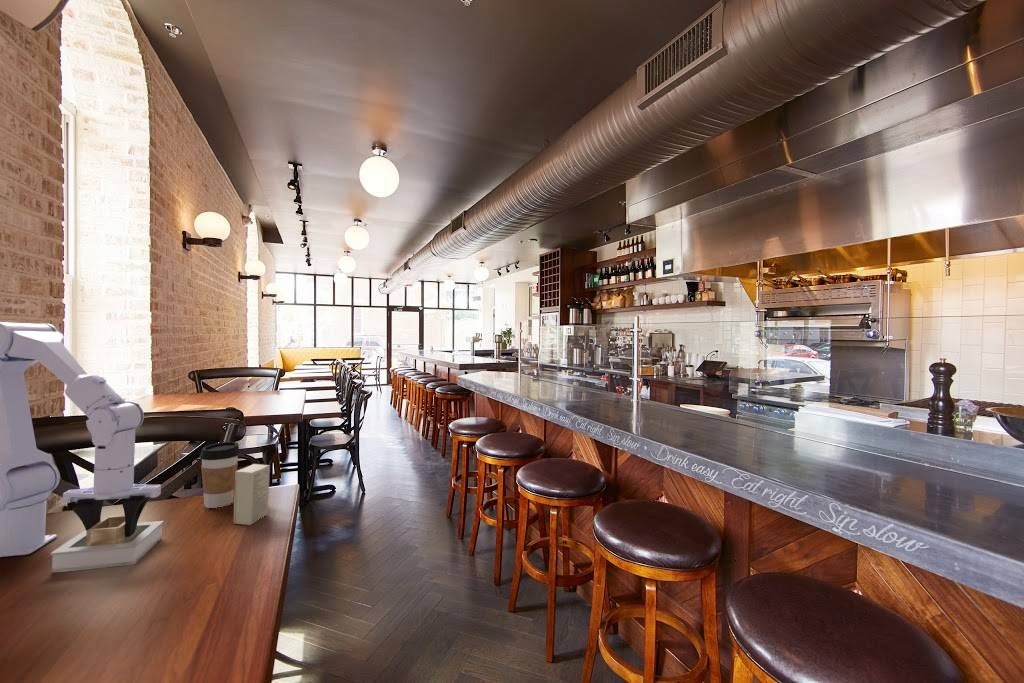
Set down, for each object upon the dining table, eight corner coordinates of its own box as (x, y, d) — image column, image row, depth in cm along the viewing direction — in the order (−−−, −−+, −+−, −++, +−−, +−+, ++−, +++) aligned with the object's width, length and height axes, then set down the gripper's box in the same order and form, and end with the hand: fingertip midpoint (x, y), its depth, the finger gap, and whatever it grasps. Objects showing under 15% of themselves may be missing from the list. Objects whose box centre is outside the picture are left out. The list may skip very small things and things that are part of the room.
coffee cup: (246, 501, 113) (248, 443, 113) (214, 513, 105) (216, 450, 105) (222, 496, 116) (224, 440, 116) (189, 507, 108) (191, 446, 108)
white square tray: (49, 573, 77) (50, 553, 77) (89, 544, 88) (90, 526, 88) (135, 564, 81) (136, 545, 81) (163, 537, 92) (163, 520, 92)
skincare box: (252, 513, 106) (254, 463, 106) (269, 515, 105) (270, 464, 105) (232, 524, 99) (234, 470, 99) (249, 526, 99) (251, 472, 99)
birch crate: (86, 554, 81) (86, 530, 81) (106, 539, 87) (106, 516, 87) (119, 551, 82) (119, 528, 82) (136, 536, 88) (137, 514, 88)
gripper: (52, 474, 78) (49, 550, 78) (150, 469, 83) (147, 541, 83) (77, 463, 85) (74, 533, 85) (166, 459, 89) (164, 526, 89)
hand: (112, 536), depth 84 cm, fingers closed on birch crate, 5 cm apart
